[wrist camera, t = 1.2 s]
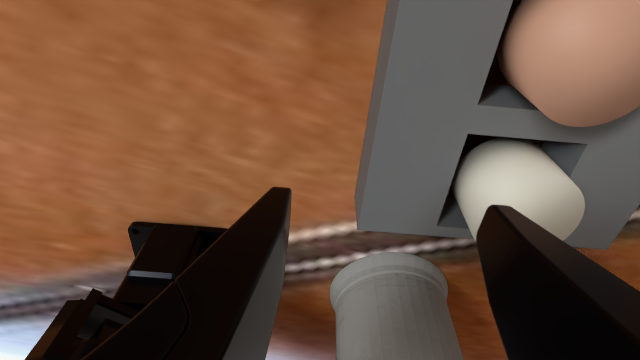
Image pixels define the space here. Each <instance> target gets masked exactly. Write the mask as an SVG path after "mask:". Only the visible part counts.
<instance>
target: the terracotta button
mask: <svg viewBox="0 0 640 360" xmlns="http://www.w3.org/2000/svg"><path fill="white" fill-rule="evenodd" d="M497 58H498V64H499V67H500V70H501V72H502V74H503V76H504V77H505V79H506V80H507V81H508V82H509V83H510V84H511V85H512V86H513V87H514V88H516V89H517V90H518V91H519V92H520V93H521V94H522V95H523V96H524V97H526V98H527V99H528V100H529V101H530V102H531V103H532V104H533V105H534V106H536V107H537V108H538V109H539V110H540V111H541V112H542V113H543V114H544V115H546V116H547V117H548V118H550V119H551V120H553V121H555V122H557V123H559V124H562V125H566V126H572V127H588V126H595V125H600V124H603V123H607V122H610V121H613V120H615V119H618V118H620V117H622V116H624V115H626V114H628V113H629V112H631V111H633V110H634V109H636V108H638V107H639V106H640V0H521V1H520V2H519V4H518V5H517V6H516V7H515V8H514V10H513V11H512V12H511V14H510V15H509V17H508V19H507V20H506V22H505V25H504V28H503V31H502V34H501V37H500V40H499V43H498V48H497Z"/></svg>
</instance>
